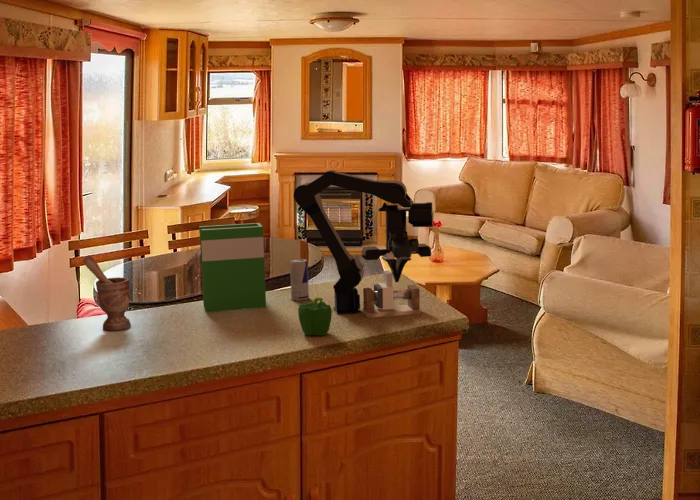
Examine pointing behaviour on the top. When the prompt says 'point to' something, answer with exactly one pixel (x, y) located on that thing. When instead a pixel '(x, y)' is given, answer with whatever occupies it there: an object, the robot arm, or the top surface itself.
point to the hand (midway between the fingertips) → (396, 281)
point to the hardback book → (232, 267)
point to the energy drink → (299, 279)
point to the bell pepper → (315, 317)
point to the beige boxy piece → (387, 290)
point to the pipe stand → (401, 294)
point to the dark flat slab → (379, 296)
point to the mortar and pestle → (111, 296)
